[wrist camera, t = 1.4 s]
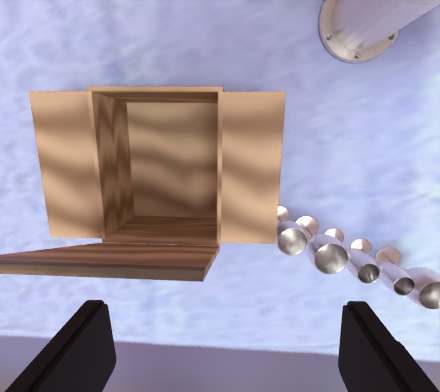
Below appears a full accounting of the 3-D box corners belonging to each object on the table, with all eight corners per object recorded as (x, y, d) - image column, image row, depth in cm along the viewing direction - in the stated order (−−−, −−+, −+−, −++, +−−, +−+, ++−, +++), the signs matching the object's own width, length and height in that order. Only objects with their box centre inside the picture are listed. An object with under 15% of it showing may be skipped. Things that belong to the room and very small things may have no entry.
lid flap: (-57, 261, 17) (-59, 271, 17) (203, 271, 16) (203, 281, 16) (103, 242, 39) (103, 246, 39) (219, 246, 38) (219, 250, 38)
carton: (80, 99, 46) (28, 86, 34) (272, 99, 44) (285, 86, 32) (93, 216, 51) (51, 240, 39) (265, 221, 49) (275, 247, 37)
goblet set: (261, 226, 49) (270, 257, 36) (273, 199, 48) (287, 222, 35) (393, 275, 50) (448, 323, 37) (408, 250, 49) (471, 291, 36)
